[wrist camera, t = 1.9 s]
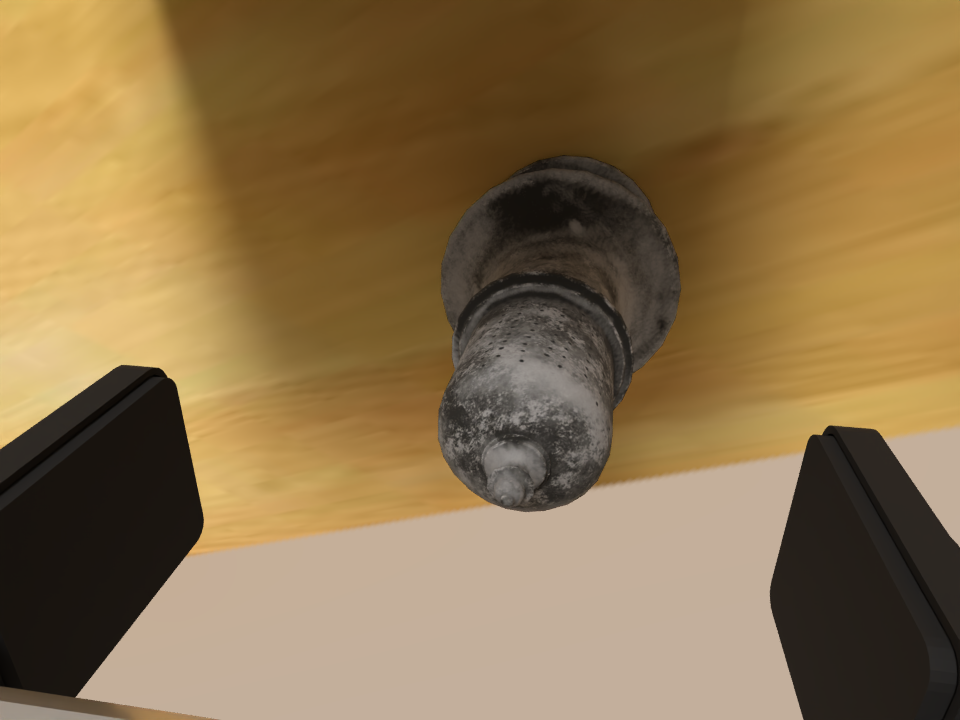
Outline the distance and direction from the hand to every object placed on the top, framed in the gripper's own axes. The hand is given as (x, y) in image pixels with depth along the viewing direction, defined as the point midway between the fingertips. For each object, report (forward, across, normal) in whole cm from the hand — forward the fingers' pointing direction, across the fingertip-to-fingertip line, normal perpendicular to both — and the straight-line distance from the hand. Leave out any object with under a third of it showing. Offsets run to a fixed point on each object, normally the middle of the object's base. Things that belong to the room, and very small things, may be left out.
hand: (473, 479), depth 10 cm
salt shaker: (+12, -1, 0) cm, 12 cm away
